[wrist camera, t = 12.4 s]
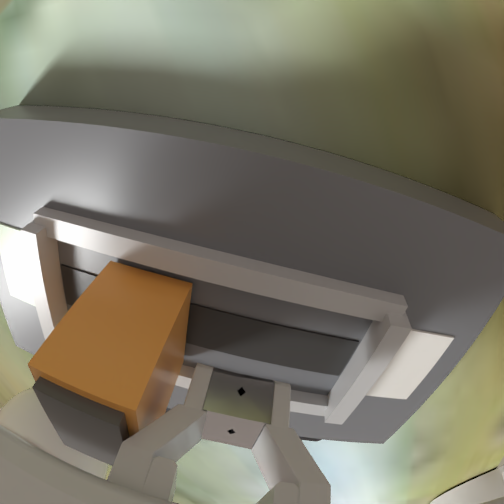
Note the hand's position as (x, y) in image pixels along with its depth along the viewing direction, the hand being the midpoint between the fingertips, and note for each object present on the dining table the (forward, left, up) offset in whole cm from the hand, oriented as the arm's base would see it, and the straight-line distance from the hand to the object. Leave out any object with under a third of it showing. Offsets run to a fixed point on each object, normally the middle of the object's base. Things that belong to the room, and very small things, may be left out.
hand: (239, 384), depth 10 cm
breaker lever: (+4, 0, -2) cm, 4 cm away
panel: (+2, 0, -5) cm, 6 cm away
